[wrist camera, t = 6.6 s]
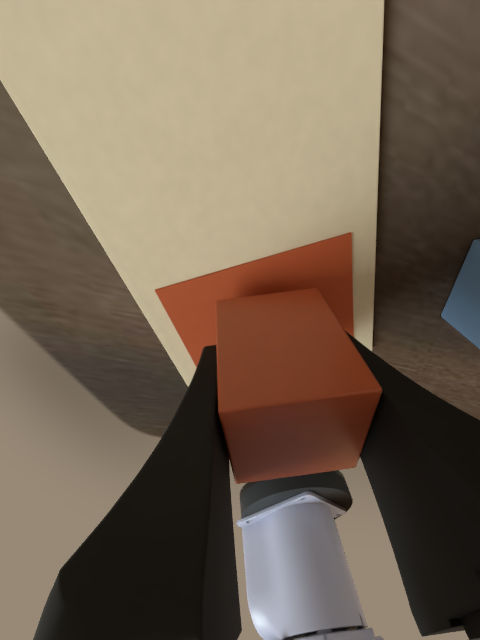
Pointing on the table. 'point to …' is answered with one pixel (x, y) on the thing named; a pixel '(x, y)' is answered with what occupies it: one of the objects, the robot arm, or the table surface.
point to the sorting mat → (211, 146)
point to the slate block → (466, 297)
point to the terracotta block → (290, 386)
